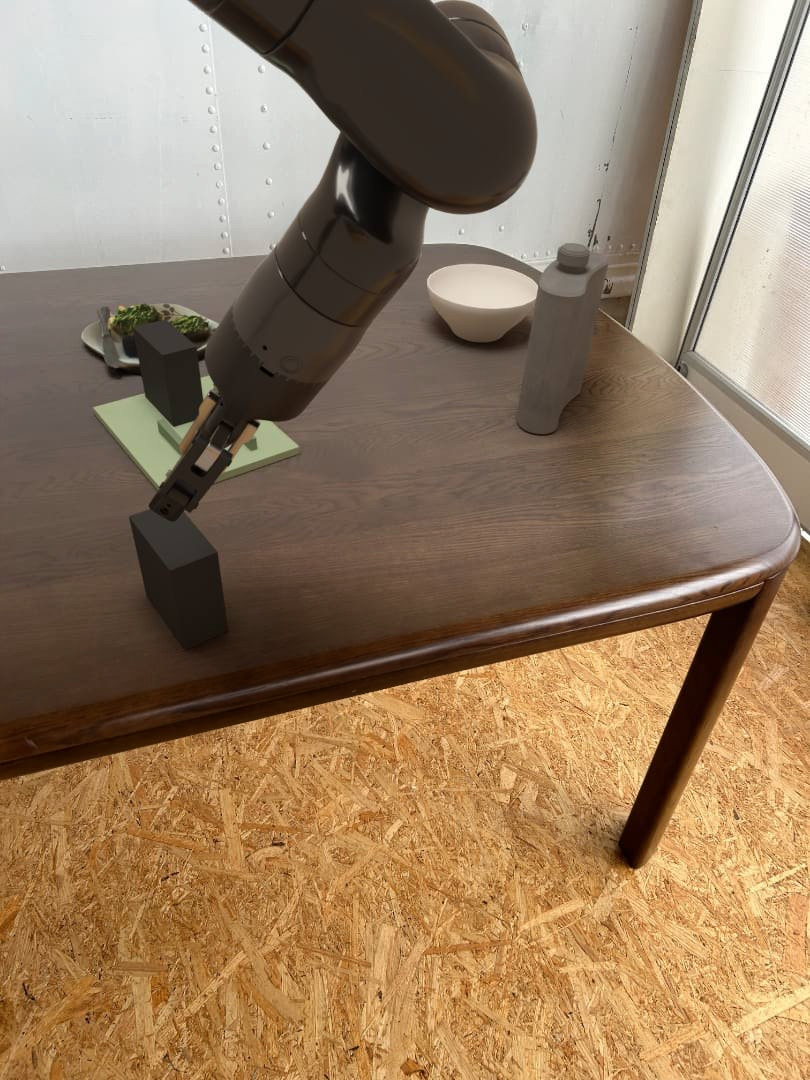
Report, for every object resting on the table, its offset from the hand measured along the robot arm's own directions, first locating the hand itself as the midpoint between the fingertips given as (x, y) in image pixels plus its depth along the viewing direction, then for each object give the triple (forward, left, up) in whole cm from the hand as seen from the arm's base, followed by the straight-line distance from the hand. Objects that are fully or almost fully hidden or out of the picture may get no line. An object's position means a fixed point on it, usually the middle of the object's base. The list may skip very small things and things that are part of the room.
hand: (183, 474), depth 59 cm
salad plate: (+3, +53, -15) cm, 55 cm away
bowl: (+48, +45, -15) cm, 67 cm away
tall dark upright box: (-2, +1, -15) cm, 15 cm away
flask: (+47, +23, -15) cm, 55 cm away
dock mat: (+4, +29, -15) cm, 33 cm away
